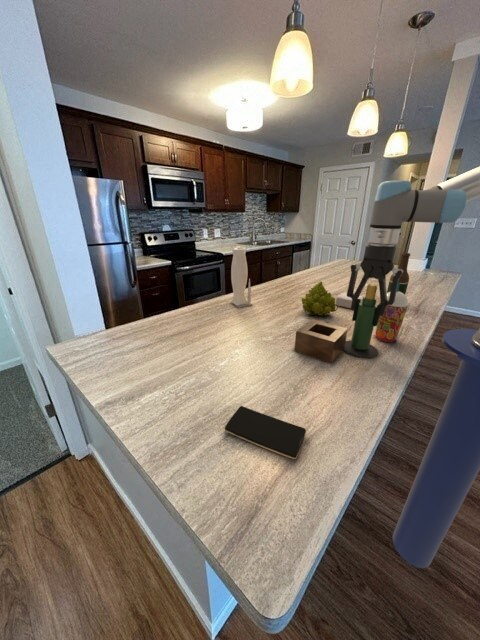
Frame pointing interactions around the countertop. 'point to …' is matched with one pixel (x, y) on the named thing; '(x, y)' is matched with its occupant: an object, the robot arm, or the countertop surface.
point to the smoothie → (392, 318)
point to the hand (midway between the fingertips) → (364, 321)
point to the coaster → (360, 351)
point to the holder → (320, 340)
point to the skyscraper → (240, 277)
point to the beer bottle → (405, 276)
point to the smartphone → (266, 432)
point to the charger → (345, 300)
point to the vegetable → (319, 301)
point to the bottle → (365, 319)
